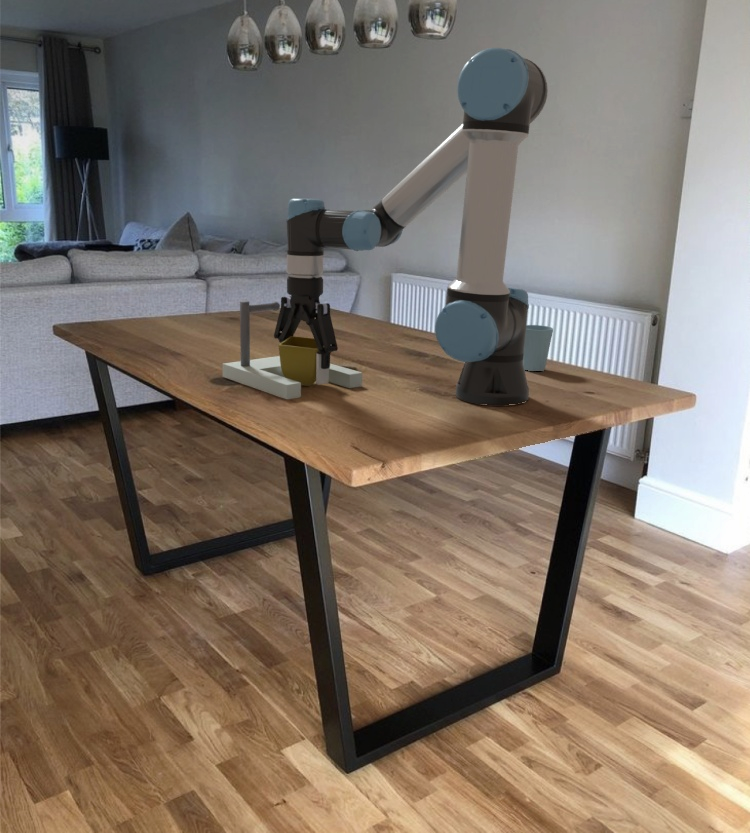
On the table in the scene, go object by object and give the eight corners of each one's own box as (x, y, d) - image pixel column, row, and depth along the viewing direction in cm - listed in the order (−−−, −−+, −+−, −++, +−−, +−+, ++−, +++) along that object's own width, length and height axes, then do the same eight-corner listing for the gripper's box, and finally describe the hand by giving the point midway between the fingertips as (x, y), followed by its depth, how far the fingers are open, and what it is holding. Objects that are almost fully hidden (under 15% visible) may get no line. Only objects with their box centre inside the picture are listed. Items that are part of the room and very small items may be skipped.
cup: (537, 374, 191) (541, 331, 188) (511, 369, 196) (514, 326, 193) (555, 370, 196) (559, 328, 193) (529, 365, 201) (532, 323, 198)
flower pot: (316, 390, 168) (318, 348, 165) (276, 385, 170) (277, 344, 167) (327, 379, 176) (329, 339, 173) (289, 375, 178) (290, 335, 175)
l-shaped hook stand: (361, 386, 174) (364, 307, 169) (286, 399, 161) (287, 315, 156) (295, 366, 191) (296, 294, 186) (222, 376, 178) (221, 300, 173)
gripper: (356, 280, 160) (354, 386, 166) (285, 269, 177) (285, 365, 183) (327, 282, 155) (325, 391, 161) (257, 270, 172) (258, 369, 178)
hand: (304, 377), depth 172 cm, fingers open, 12 cm apart
